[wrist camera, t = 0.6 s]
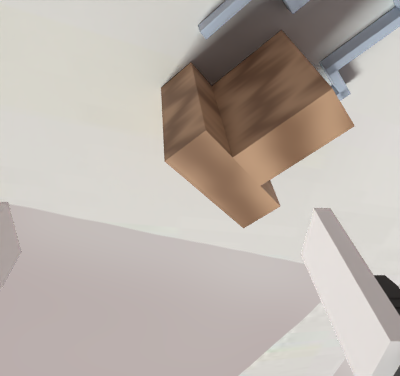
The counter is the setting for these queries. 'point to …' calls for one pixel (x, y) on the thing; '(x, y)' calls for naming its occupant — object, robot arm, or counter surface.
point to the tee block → (248, 126)
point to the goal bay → (335, 60)
